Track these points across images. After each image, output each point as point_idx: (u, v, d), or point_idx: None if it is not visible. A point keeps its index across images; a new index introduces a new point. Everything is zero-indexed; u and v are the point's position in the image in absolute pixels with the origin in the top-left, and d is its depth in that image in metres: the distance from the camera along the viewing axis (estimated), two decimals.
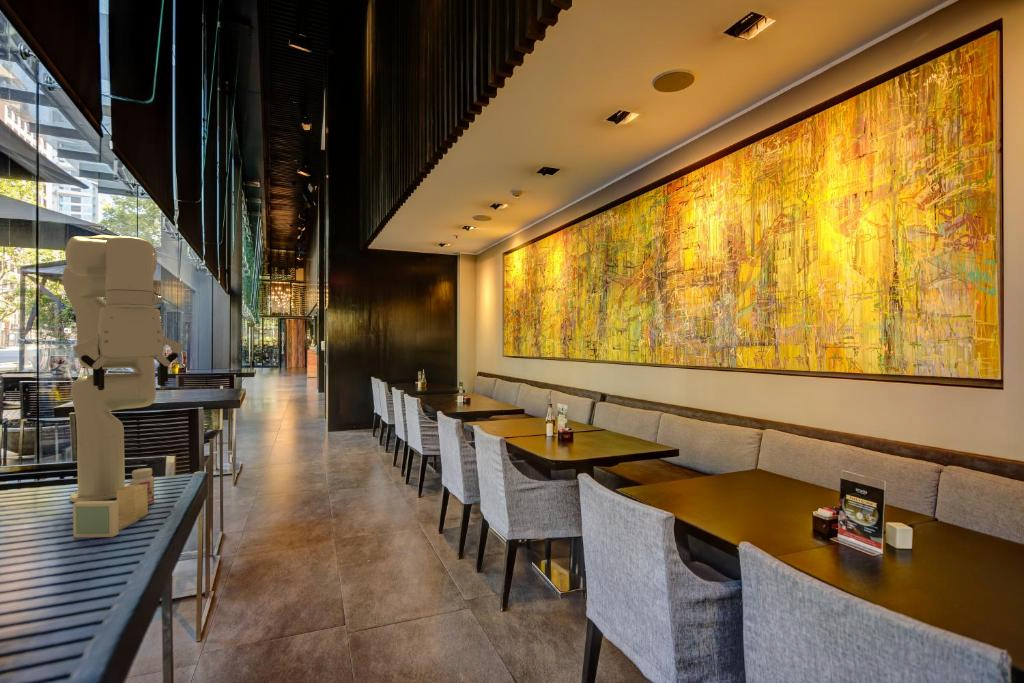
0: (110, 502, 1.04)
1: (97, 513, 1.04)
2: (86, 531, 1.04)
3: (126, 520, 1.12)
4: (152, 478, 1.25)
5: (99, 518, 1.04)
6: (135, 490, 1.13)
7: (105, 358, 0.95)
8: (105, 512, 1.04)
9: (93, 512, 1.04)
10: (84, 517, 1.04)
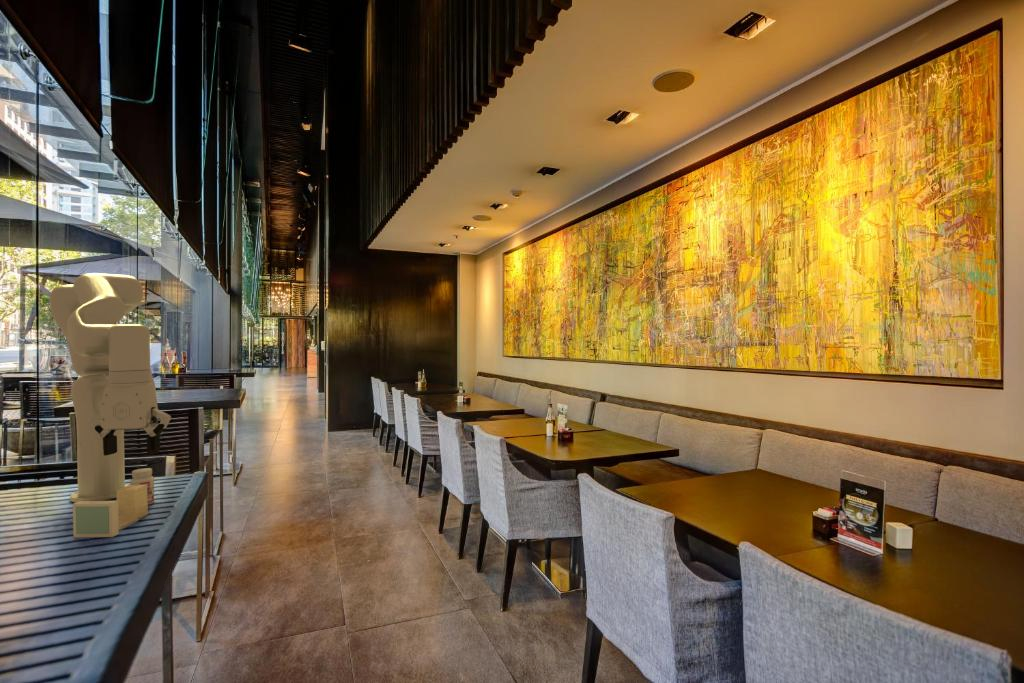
0: (110, 502, 1.04)
1: (97, 513, 1.04)
2: (86, 531, 1.04)
3: (126, 520, 1.12)
4: (152, 478, 1.25)
5: (99, 518, 1.04)
6: (135, 490, 1.13)
7: None
8: (105, 512, 1.04)
9: (93, 512, 1.04)
10: (84, 517, 1.04)
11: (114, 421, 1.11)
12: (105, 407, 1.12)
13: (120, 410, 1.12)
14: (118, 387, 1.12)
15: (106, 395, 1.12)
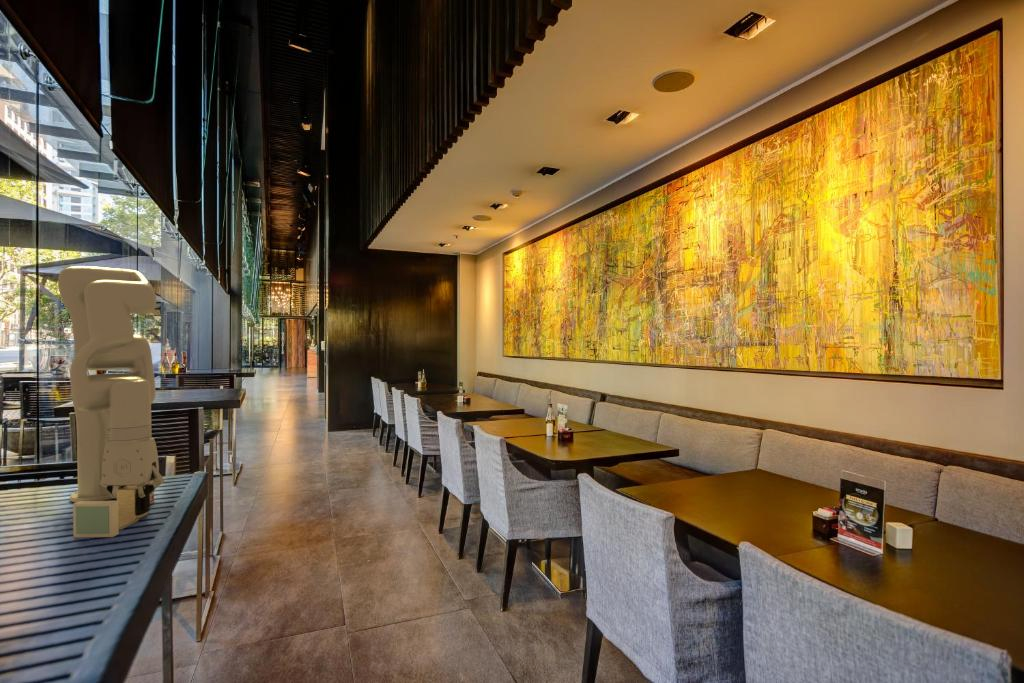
0: (110, 502, 1.04)
1: (97, 513, 1.04)
2: (86, 531, 1.04)
3: (126, 519, 1.12)
4: None
5: (99, 518, 1.04)
6: (135, 490, 1.13)
7: None
8: (105, 512, 1.04)
9: (93, 512, 1.04)
10: (84, 517, 1.04)
11: (115, 477, 1.12)
12: (106, 463, 1.12)
13: (121, 467, 1.12)
14: (119, 444, 1.12)
15: (107, 451, 1.12)
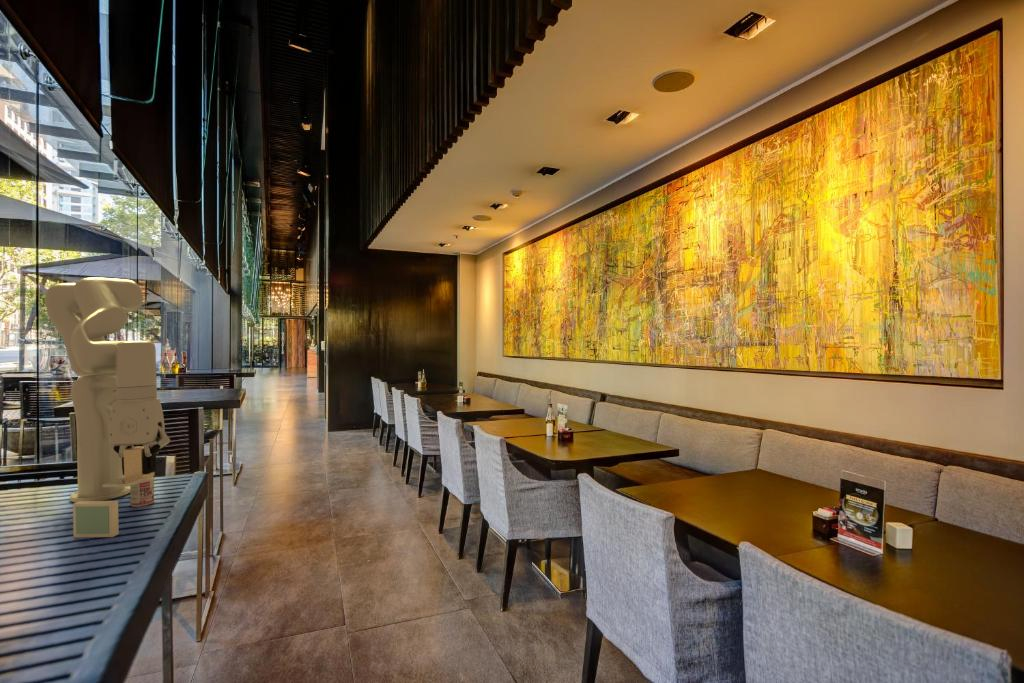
0: (110, 502, 1.04)
1: (97, 513, 1.04)
2: (86, 531, 1.04)
3: (133, 478, 1.13)
4: (152, 478, 1.25)
5: (99, 518, 1.04)
6: (142, 450, 1.15)
7: None
8: (105, 512, 1.04)
9: (93, 512, 1.04)
10: (84, 517, 1.04)
11: (122, 436, 1.13)
12: (113, 423, 1.14)
13: (127, 426, 1.13)
14: (125, 403, 1.14)
15: (113, 411, 1.14)
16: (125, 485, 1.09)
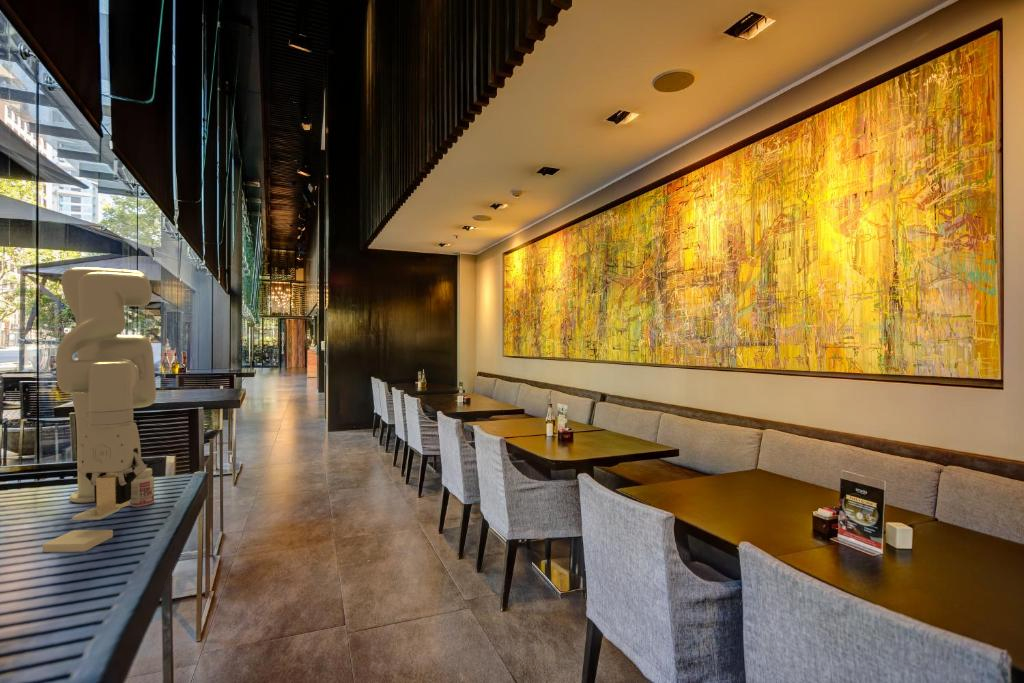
0: (80, 549, 0.97)
1: None
2: None
3: (106, 509, 1.06)
4: (152, 478, 1.25)
5: None
6: (116, 478, 1.08)
7: None
8: None
9: None
10: None
11: (94, 464, 1.06)
12: (85, 449, 1.06)
13: (100, 453, 1.06)
14: (98, 429, 1.06)
15: (86, 436, 1.06)
16: (96, 518, 1.02)
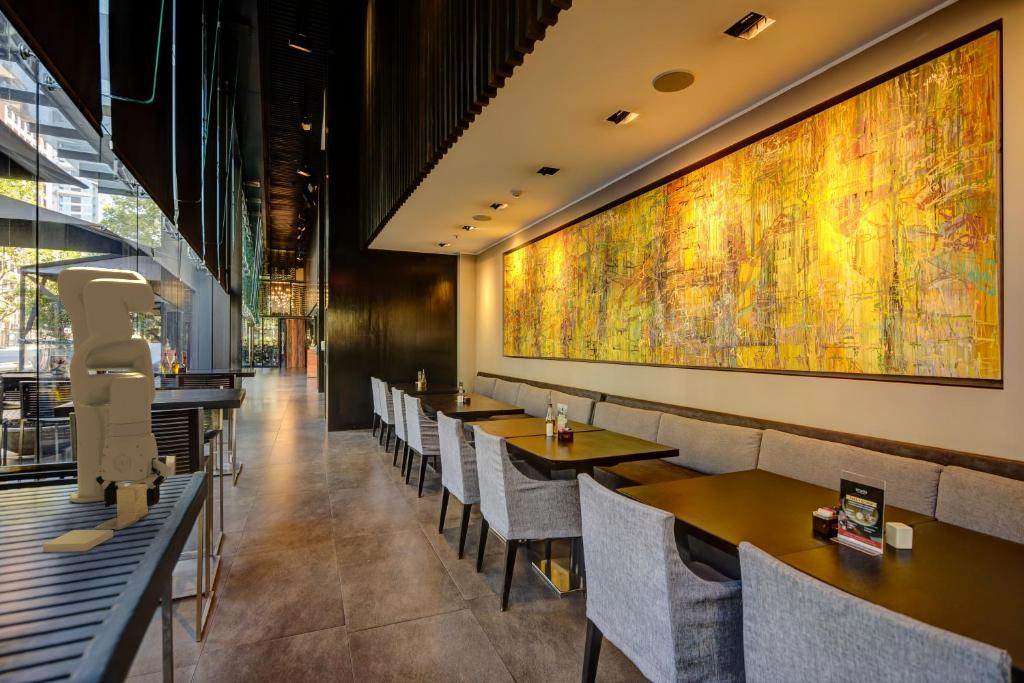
0: (81, 548, 0.97)
1: None
2: None
3: (126, 519, 1.12)
4: None
5: None
6: (135, 490, 1.13)
7: None
8: None
9: None
10: None
11: (115, 473, 1.12)
12: (106, 459, 1.12)
13: (121, 462, 1.12)
14: (119, 440, 1.12)
15: (107, 447, 1.12)
16: (117, 528, 1.08)
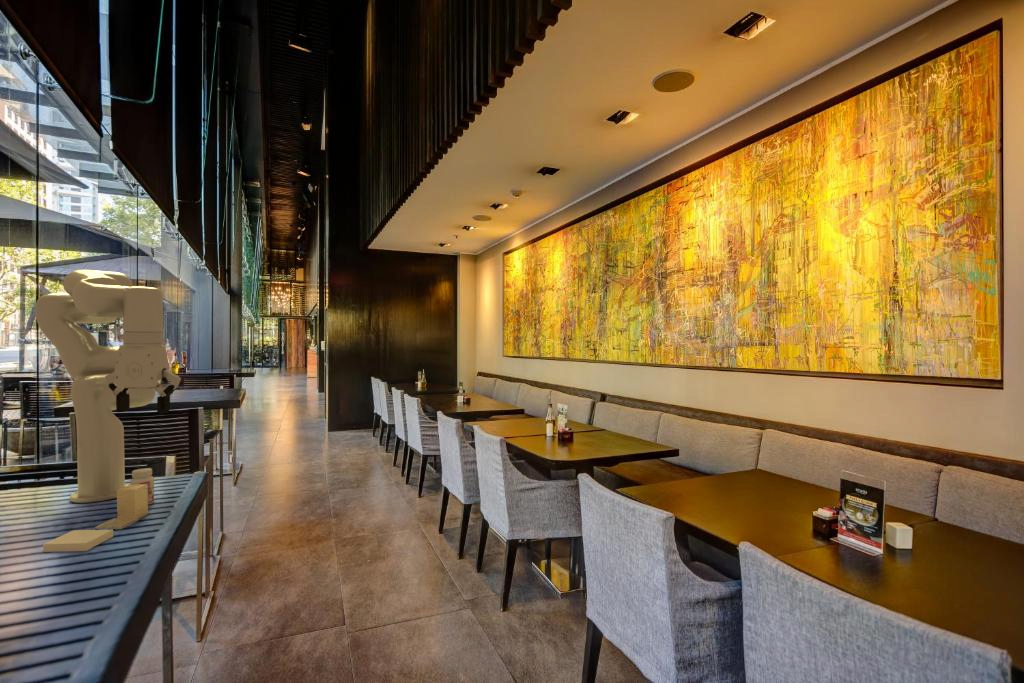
0: (81, 548, 0.97)
1: None
2: None
3: (126, 519, 1.12)
4: (152, 478, 1.25)
5: None
6: (135, 490, 1.13)
7: None
8: None
9: None
10: None
11: (127, 380, 1.16)
12: (119, 366, 1.16)
13: (133, 370, 1.15)
14: (131, 347, 1.15)
15: (120, 354, 1.16)
16: (117, 528, 1.08)
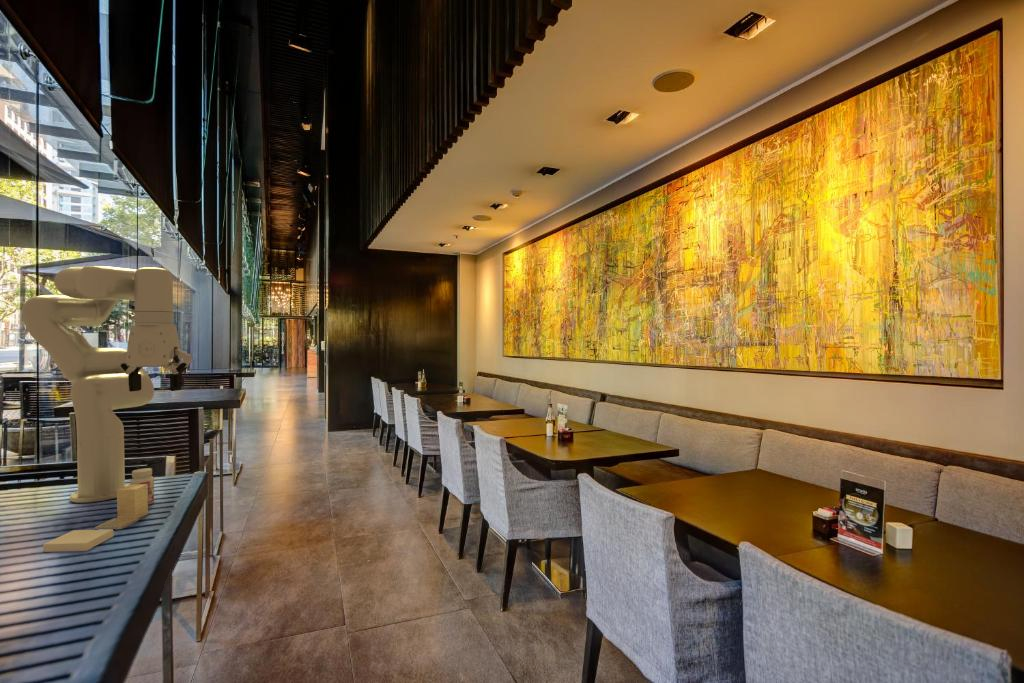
0: (82, 548, 0.97)
1: None
2: None
3: (126, 519, 1.12)
4: (152, 478, 1.25)
5: None
6: (135, 490, 1.13)
7: None
8: None
9: None
10: None
11: (139, 358, 1.18)
12: (131, 345, 1.18)
13: (145, 348, 1.18)
14: (143, 327, 1.18)
15: (132, 334, 1.18)
16: (117, 528, 1.08)
